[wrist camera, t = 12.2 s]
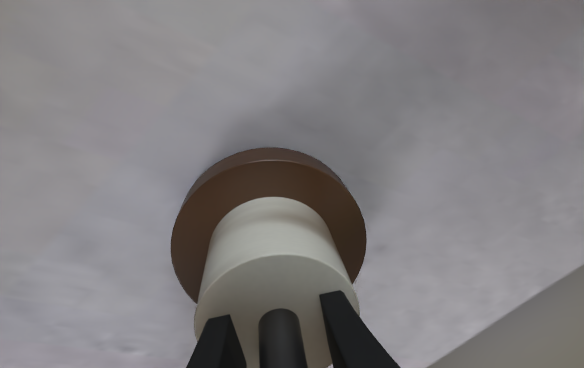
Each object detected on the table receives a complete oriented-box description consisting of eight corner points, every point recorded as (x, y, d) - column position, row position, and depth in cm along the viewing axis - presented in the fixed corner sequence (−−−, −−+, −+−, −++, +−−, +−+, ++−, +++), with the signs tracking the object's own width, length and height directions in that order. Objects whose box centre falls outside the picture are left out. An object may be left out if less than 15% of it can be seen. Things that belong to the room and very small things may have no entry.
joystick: (-188, 606, 3) (127, 808, 6) (650, 403, 3) (558, 693, 6) (153, 169, 14) (206, 318, 16) (344, 129, 14) (363, 283, 17)
